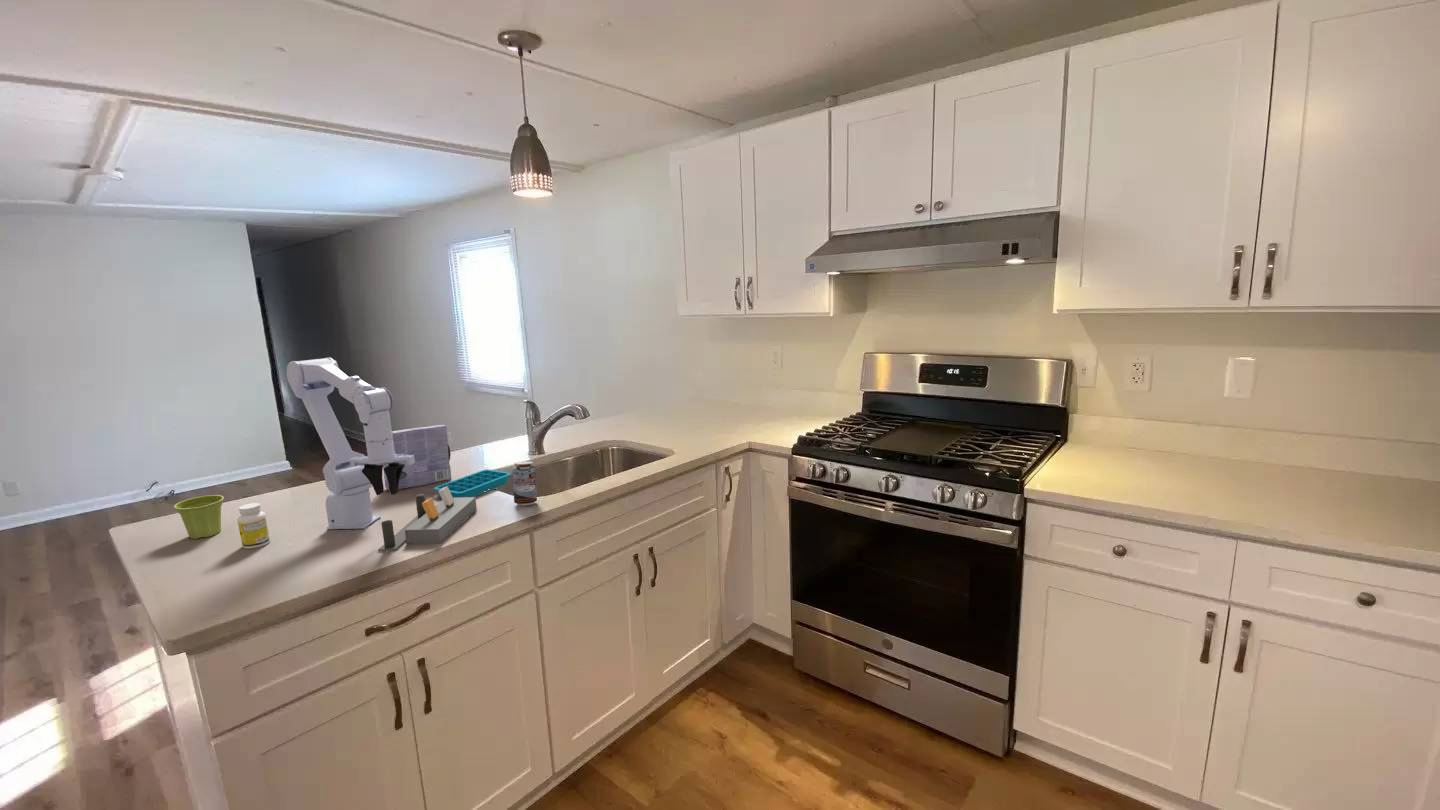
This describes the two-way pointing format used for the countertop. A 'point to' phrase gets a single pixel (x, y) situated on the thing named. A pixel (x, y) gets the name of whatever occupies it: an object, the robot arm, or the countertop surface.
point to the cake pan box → (422, 456)
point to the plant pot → (201, 515)
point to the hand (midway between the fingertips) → (387, 493)
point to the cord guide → (399, 539)
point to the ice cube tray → (475, 483)
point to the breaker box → (440, 522)
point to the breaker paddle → (430, 509)
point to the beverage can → (524, 483)
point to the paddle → (446, 497)
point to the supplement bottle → (253, 526)
